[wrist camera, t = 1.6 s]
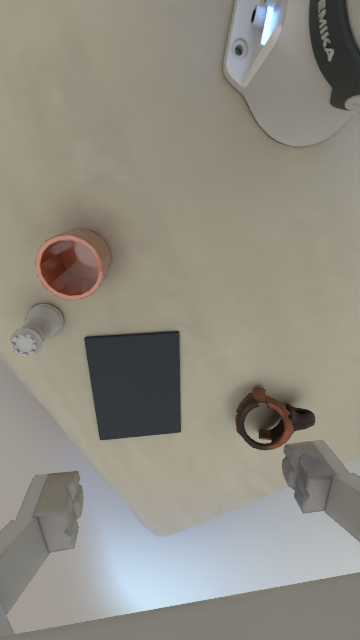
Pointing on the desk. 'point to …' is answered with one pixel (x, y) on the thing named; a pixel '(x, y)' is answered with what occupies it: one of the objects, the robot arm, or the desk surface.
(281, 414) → the dark brown domed piece
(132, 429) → the mat
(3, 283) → the desk surface
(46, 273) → the pot
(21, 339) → the rook chess piece
